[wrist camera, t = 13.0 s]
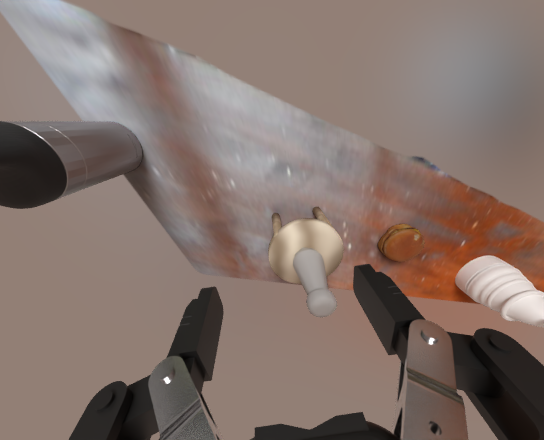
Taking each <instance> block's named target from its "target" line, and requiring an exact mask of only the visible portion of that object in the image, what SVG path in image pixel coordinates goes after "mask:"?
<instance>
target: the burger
mask: <svg viewBox="0 0 544 440" xmlns="http://www.w3.org/2000/svg"><path fill="white" fill-rule="evenodd" d="M378 247H379V249H380V251H381V252H382V253H383V254H385V256H386V257H387V258H389V259H391V260H394V261H397V262H405V261H408V260H411V259H412V258H414V257H416V256H417V255H418V254H419V253H420V252H421V251H422V249H423V248H424V239H423V236H422V235H421V234H420V232H419V231H418V229H415V228H413V227H411V226H409V225H407V224H399V225H395V226H393V227H391V228H389V230H388V231H387V233H385V234H384V235H383V236H382V237H381V239H380V241H379V243H378Z"/></svg>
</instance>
